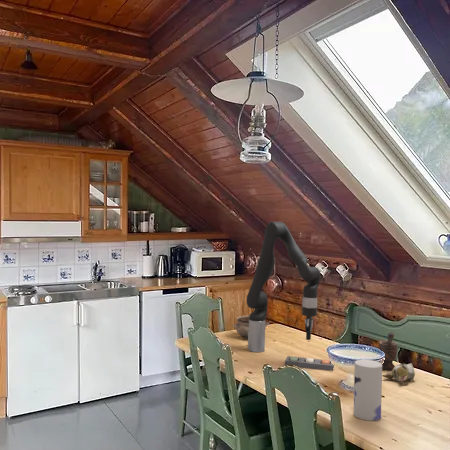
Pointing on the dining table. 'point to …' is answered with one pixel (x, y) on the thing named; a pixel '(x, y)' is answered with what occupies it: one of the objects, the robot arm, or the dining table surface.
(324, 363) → the terracotta button
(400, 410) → the dining table surface
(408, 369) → the ceramic sculpture
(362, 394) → the container
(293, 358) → the sage button
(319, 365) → the control strip
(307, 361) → the cream button
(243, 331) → the cooking pot
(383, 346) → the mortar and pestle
